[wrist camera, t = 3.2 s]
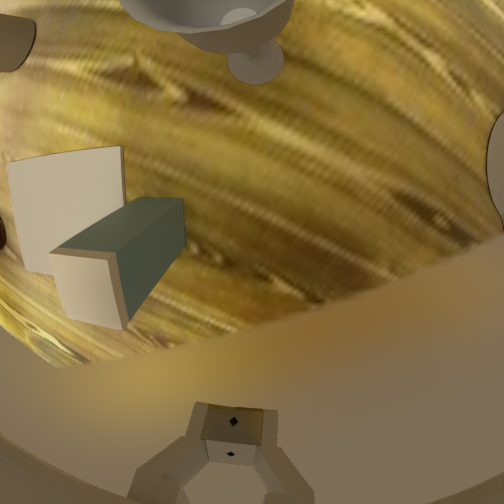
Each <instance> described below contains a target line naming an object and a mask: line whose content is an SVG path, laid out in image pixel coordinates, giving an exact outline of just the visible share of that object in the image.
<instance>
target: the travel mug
mask: <svg viewBox="0 0 504 504" xmlns="http://www.w3.org/2000/svg"><path fill="white" fill-rule="evenodd" d="M34 35H35V25H34V22H33V21H32V20H30V19H26V18H21V17H16V16H11V15H5V14H0V72H11V71H14V70H15V69H16V68H18V67H19V66H20V64H21V63H22V62H23V61H24V59H25V58H26V56H27V54H28V52H29V50H30V48H31V45H32V43H33V39H34Z"/></svg>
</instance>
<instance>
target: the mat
mask: <svg viewBox="0 0 504 504" xmlns="http://www.w3.org/2000/svg"><path fill="white" fill-rule="evenodd" d="M7 171H8V180H9V189H10V196H11V203H12V209H13V215H14V221H15V226H16V231H17V236H18V240H19V244H20V249H21V253H22V257H23V261H24V264H25V268H26V270H27V271H32V272H37V273H42V274H48V275H53V272H52V268H51V264H50V260H49V256H48V253H49V252H51V251H52V250H53V249H55V248H56V247H58V246H59V245H61V244H62V243H64V242H65V241H67V240H68V239H70V238H72V237H73V236H75V235H76V234H78V233H79V232H81V231H83V230H84V229H86V228H87V227H89V226H91V225H92V224H94V223H95V222H97V221H99V220H100V219H102V218H104V217H105V216H107V215H109V214H111V213H112V212H114V211H116V210H117V209H119V208H121V207H123V206H124V205H126V195H125V180H124V160H123V146H114V147H103V148H94V149H86V150H78V151H71V152H64V153H57V154H51V155H45V156H40V157H34V158H29V159H24V160H19V161H14V162H10V163H7Z"/></svg>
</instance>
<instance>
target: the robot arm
mask: <svg viewBox="0 0 504 504" xmlns="http://www.w3.org/2000/svg"><path fill="white" fill-rule="evenodd" d="M487 175H488V183H489V189H490V193H491V196H492V199H493V202H494V204H495V207H496V208H497V210H498V212H499V214H500V215H501V217H502V220H503V224H504V112H503V113H502V114H501V116H500V117H499V118H498V120H497V122H496V123H495V126H494V128H493V130H492V133H491V137H490V141H489V146H488V155H487ZM277 428H278V410H268V409H264V410H263V409H258V408H244V407H229V406H222V405H215V404H209V403H202V402H196V403H195V405H194V407H193V411H192V414H191V418H190V421H189V425H188V428H187V431H186V435H185V437H184V436H181V437H179V438H178V439H177V440H175V441H174V442H173V443H172V444H170V445H169V446H168V447H167V448H165V449H164V450H162V451H161V452H160V453H158V454H157V455H155V456H154V457H153V458H151V459H150V460H149V461H147V462H146V463H144V464H143V465H141V466H140V467H139V468H137V470H136V473H135V475H134V478H133V481H132V484H131V487H130V489H129V492H128V495H127V498H126V497H123V496H120V495H117V494H114V493H112V492H109V491H107V490H104V489H102V488H99V487H97V486H94V485H92V484H90V483H87V482H85V481H83V480H81V479H79V478H76V477H74V476H72V475H70V474H68V473H66V472H64V471H62V470H60V469H58V468H56V467H55V466H53V465H51V464H49V463H47V462H45V461H44V460H42V459H40V458H38V457H37V456H35V455H33V454H32V453H30V452H28V451H27V450H25V449H24V448H22V447H21V446H19V445H17V444H16V443H15V442H13V441H12V440H10V439H9V438H7V437H6V436H4V435H3V434H2V433H0V504H190V501H189V499H188V497H187V495H186V493H185V492H184V490H183V487H184V486H185V485H186V484H187V483H188V482H189V481H190V480H191V479H192V478H193V477H194V476H195V475H196V474H197V473H198V472H200V470H202V469H203V468H204V467H205V465H207V463H209V461H211V462H220V463H230V464H237V465H246V466H254V469H255V470H256V472H257V474H258V476H259V477H260V479H261V481H262V483H263V484H264V486H265V487H266V489H267V491H268V493H267V494H266V495H265V496H264V499H263V503H262V504H314V491H313V489H312V488H311V487H310V485H308V483H307V482H306V480H305V479H304V478H303V476H302V475H301V474H300V473H299V471H298V470H297V469H296V467H295V466H294V465H293V463H292V462H291V461H290V459H289V458H288V457H287V455H286V454H285V452H284V451H283V450H282V448H280V447H277V431H278V430H277ZM426 504H504V472H502V473H500V474H498V475H496V476H494V477H492V478H490V479H488V480H486V481H484V482H481V483H479V484H477V485H475V486H472V487H470V488H468V489H465V490H463V491H461V492H458V493H455V494H453V495H450V496H447V497H445V498H442V499H439V500H436V501H433V502H429V503H426Z"/></svg>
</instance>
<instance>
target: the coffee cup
mask: <svg viewBox="0 0 504 504" xmlns="http://www.w3.org/2000/svg"><path fill="white" fill-rule="evenodd" d="M4 245H5V232H4V227H3V224H2V221H1V219H0V249H2V248H3V247H4Z"/></svg>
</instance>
